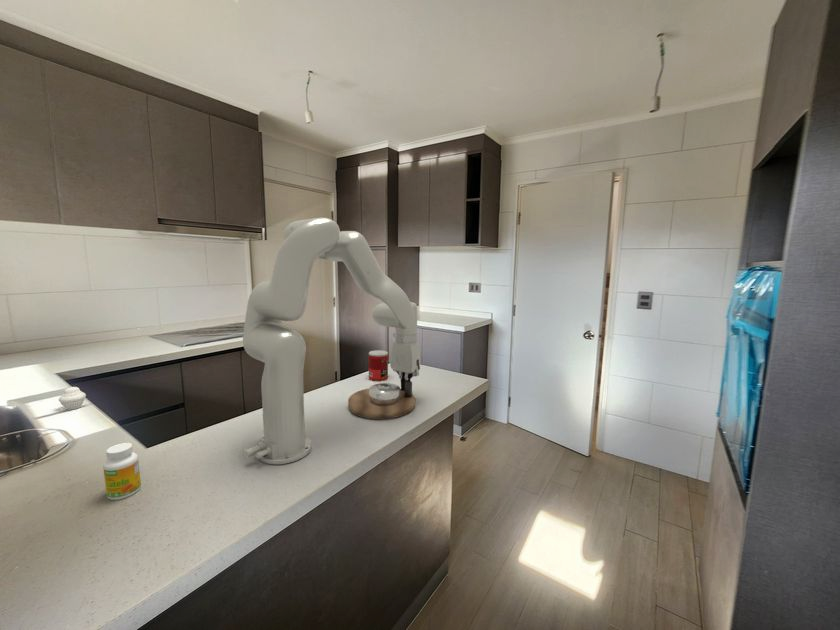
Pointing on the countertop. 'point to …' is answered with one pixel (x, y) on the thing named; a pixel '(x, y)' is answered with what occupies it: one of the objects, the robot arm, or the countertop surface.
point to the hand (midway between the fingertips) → (405, 389)
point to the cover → (384, 394)
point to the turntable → (364, 408)
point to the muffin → (72, 398)
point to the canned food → (378, 365)
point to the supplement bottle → (121, 471)
